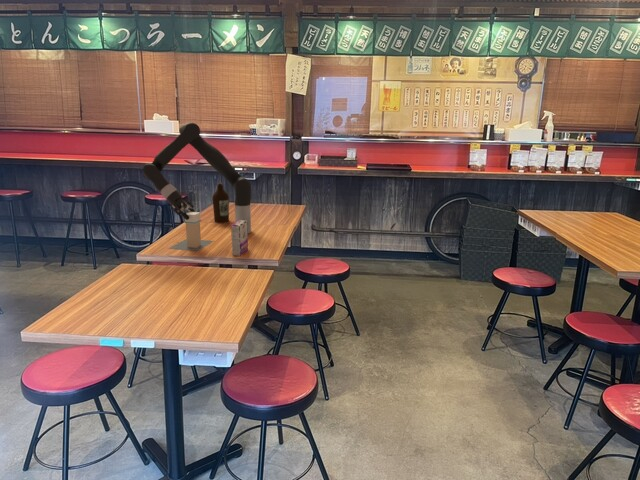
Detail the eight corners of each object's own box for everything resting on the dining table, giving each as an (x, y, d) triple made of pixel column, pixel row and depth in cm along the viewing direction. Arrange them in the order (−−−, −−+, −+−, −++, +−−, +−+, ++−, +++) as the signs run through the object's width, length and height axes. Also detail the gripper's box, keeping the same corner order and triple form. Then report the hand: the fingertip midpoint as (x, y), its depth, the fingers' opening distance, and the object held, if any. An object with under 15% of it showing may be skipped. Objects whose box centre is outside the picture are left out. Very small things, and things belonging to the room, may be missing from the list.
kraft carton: (192, 244, 267) (190, 221, 263) (201, 245, 265) (199, 221, 262) (187, 247, 261) (185, 223, 258) (196, 247, 260) (195, 224, 257)
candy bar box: (239, 249, 262) (238, 219, 258) (248, 250, 261) (247, 220, 257) (231, 255, 252) (230, 224, 247) (240, 256, 251) (239, 225, 246)
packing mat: (186, 240, 277) (186, 238, 277) (214, 242, 273) (214, 241, 273) (168, 250, 259) (168, 248, 258) (197, 253, 255) (197, 251, 255)
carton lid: (190, 220, 263) (189, 211, 262) (200, 221, 262) (200, 212, 260) (184, 223, 258) (184, 214, 256) (195, 224, 256) (194, 214, 255)
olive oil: (210, 220, 323) (208, 183, 316) (224, 218, 330) (222, 181, 323) (219, 223, 315) (217, 185, 308) (233, 221, 322) (231, 183, 315)
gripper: (168, 192, 250) (190, 215, 251) (182, 187, 264) (202, 209, 264) (159, 201, 253) (181, 224, 254) (174, 196, 266) (194, 218, 267)
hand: (192, 217), depth 259 cm, fingers open, 8 cm apart
